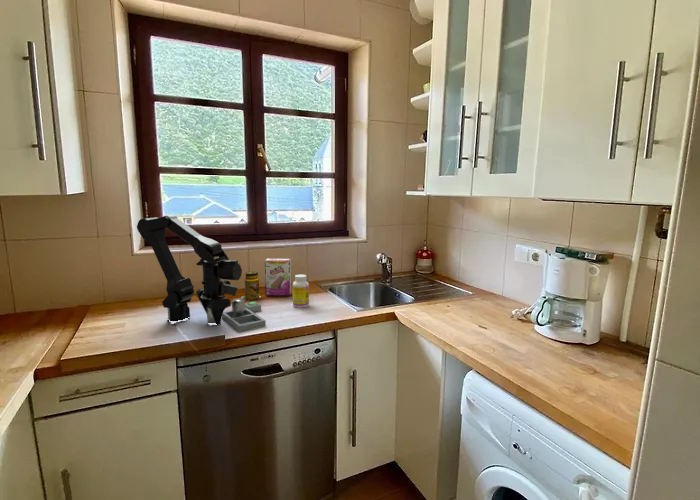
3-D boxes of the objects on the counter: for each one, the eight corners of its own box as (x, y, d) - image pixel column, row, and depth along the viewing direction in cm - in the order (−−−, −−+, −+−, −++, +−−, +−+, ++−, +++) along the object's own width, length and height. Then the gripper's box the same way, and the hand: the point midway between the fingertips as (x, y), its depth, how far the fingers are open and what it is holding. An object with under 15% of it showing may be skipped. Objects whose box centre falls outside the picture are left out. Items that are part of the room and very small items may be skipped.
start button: (250, 311, 148) (250, 304, 148) (247, 309, 150) (247, 302, 150) (257, 310, 150) (257, 303, 149) (254, 308, 152) (254, 301, 151)
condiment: (259, 301, 163) (258, 274, 161) (239, 302, 162) (238, 274, 160) (261, 296, 170) (260, 270, 168) (241, 297, 169) (240, 270, 167)
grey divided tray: (239, 333, 128) (239, 326, 128) (221, 319, 141) (221, 312, 141) (265, 327, 134) (265, 320, 133) (246, 314, 147) (246, 307, 147)
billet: (210, 328, 132) (209, 309, 131) (205, 324, 136) (204, 306, 134) (222, 325, 135) (222, 307, 134) (218, 322, 138) (217, 303, 137)
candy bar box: (265, 296, 170) (264, 260, 168) (266, 293, 175) (265, 258, 173) (290, 296, 171) (289, 260, 168) (291, 293, 176) (290, 258, 173)
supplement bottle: (307, 308, 154) (307, 277, 152) (291, 308, 154) (291, 277, 152) (309, 303, 161) (309, 273, 159) (294, 303, 161) (293, 273, 159)
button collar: (249, 314, 147) (248, 307, 146) (244, 311, 151) (243, 303, 150) (261, 311, 150) (261, 304, 149) (256, 308, 154) (255, 301, 153)
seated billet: (235, 321, 137) (234, 302, 136) (230, 318, 141) (229, 299, 140) (247, 319, 140) (246, 300, 139) (242, 315, 144) (241, 297, 142)
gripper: (244, 280, 130) (246, 323, 132) (225, 270, 144) (227, 309, 147) (211, 285, 123) (214, 330, 126) (194, 274, 138) (197, 315, 140)
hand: (214, 320), depth 135 cm, fingers open, 8 cm apart
